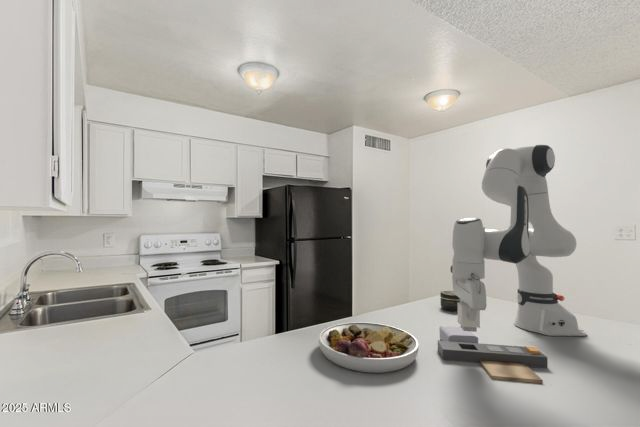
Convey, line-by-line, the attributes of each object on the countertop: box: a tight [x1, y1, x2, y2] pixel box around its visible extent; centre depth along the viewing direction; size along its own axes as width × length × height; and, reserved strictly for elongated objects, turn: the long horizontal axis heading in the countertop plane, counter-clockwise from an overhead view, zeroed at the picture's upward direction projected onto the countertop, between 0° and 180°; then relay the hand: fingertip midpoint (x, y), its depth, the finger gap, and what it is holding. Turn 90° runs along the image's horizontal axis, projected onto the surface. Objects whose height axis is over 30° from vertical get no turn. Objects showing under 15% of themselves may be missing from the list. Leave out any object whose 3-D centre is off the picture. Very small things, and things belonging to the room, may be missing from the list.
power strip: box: [437, 340, 548, 369], centre depth 93 cm, size 28×7×4 cm, turn 81°
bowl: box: [318, 321, 420, 374], centre depth 95 cm, size 30×30×8 cm
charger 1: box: [457, 302, 481, 333], centre depth 94 cm, size 5×4×8 cm
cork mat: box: [479, 361, 544, 384], centre depth 84 cm, size 12×9×1 cm
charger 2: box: [439, 325, 479, 343], centre depth 106 cm, size 5×9×15 cm
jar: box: [439, 290, 460, 313], centre depth 147 cm, size 10×10×8 cm
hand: (468, 316), depth 94 cm, fingers closed on charger 1, 4 cm apart
